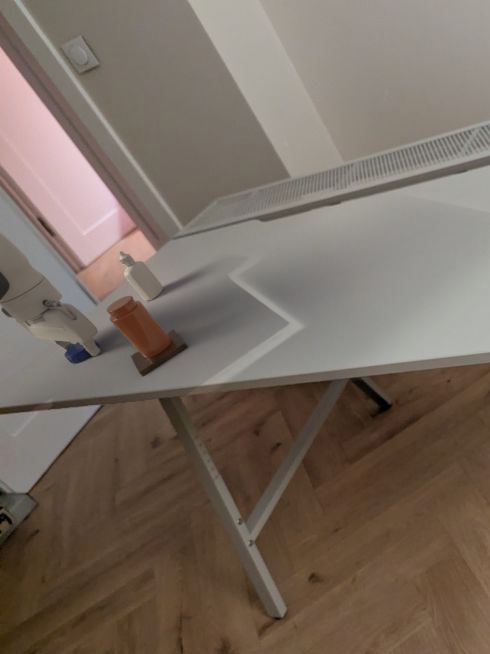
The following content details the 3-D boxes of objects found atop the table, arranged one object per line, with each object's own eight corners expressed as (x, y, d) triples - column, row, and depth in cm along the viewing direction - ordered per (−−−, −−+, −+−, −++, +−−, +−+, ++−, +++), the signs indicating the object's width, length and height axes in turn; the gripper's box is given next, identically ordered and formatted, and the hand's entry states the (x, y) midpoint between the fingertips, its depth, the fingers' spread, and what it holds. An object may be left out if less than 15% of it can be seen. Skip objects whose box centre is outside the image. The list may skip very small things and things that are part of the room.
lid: (105, 344, 114) (98, 337, 113) (80, 364, 110) (73, 357, 109) (90, 343, 117) (83, 336, 116) (65, 363, 113) (58, 356, 112)
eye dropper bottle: (140, 300, 127) (104, 258, 120) (160, 286, 130) (126, 244, 123) (148, 302, 124) (112, 259, 117) (169, 288, 127) (134, 244, 120)
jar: (147, 361, 99) (107, 316, 93) (139, 353, 103) (99, 309, 96) (176, 342, 101) (138, 297, 95) (166, 334, 105) (129, 291, 99)
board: (142, 376, 97) (139, 372, 97) (133, 359, 104) (130, 356, 103) (187, 347, 100) (184, 343, 100) (176, 332, 107) (173, 329, 106)
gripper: (74, 290, 102) (124, 344, 110) (24, 292, 112) (73, 341, 120) (44, 311, 98) (99, 366, 106) (-4, 310, 108) (49, 360, 116)
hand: (85, 353), depth 113 cm, fingers open, 8 cm apart
